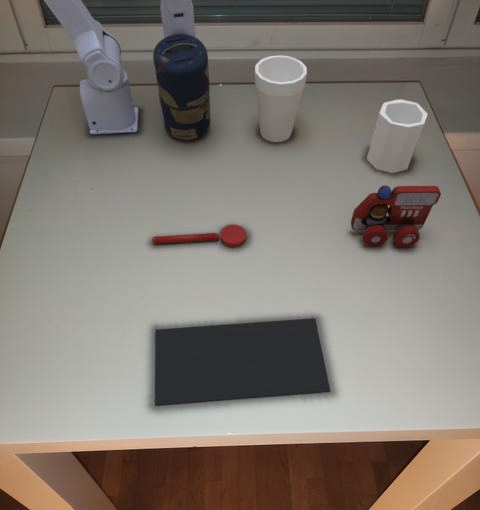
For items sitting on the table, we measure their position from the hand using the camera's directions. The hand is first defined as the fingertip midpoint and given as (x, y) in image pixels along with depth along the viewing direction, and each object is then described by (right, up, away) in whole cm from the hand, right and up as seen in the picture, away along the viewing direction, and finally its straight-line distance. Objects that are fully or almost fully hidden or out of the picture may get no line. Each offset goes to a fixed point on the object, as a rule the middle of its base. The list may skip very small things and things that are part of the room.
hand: (186, 102), depth 97 cm
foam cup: (+18, -7, -1) cm, 19 cm away
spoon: (+5, -31, -17) cm, 36 cm away
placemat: (+11, -50, -29) cm, 59 cm away
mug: (+40, -12, -4) cm, 42 cm away
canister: (0, -5, -1) cm, 5 cm away
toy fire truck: (+36, -30, -16) cm, 49 cm away
